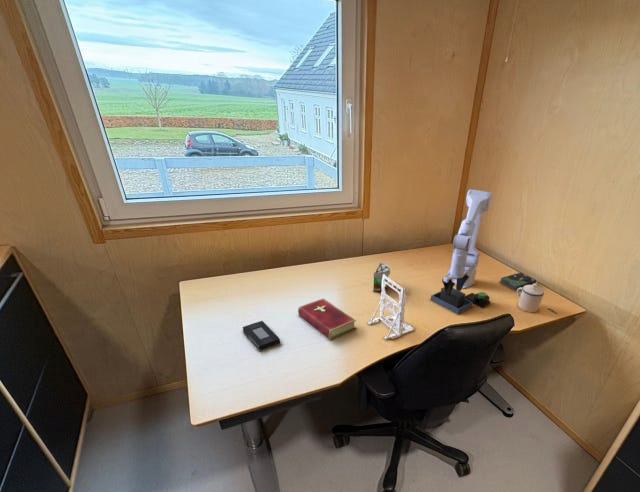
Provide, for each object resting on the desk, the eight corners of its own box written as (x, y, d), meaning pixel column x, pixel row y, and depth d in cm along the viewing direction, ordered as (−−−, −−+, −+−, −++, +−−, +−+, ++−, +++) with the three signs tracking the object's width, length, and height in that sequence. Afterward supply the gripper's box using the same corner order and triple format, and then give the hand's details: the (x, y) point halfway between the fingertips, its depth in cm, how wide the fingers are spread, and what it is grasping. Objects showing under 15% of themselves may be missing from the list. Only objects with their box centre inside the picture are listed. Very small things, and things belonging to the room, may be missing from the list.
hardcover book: (329, 340, 130) (329, 330, 128) (298, 315, 142) (297, 306, 140) (355, 328, 137) (355, 319, 135) (323, 306, 150) (323, 297, 147)
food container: (386, 295, 161) (387, 275, 156) (372, 293, 162) (373, 273, 157) (391, 283, 171) (392, 263, 166) (378, 281, 172) (379, 262, 167)
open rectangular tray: (444, 293, 166) (445, 289, 164) (472, 307, 157) (473, 302, 155) (430, 300, 160) (431, 295, 158) (457, 314, 151) (458, 309, 149)
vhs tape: (259, 351, 122) (259, 346, 121) (243, 331, 131) (242, 326, 130) (280, 343, 127) (279, 338, 126) (262, 325, 136) (262, 320, 134)
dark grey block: (445, 297, 162) (447, 285, 159) (463, 306, 157) (465, 294, 153) (439, 300, 160) (441, 288, 156) (456, 309, 154) (459, 297, 151)
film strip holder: (417, 331, 139) (423, 284, 128) (387, 341, 132) (391, 293, 121) (395, 313, 148) (399, 269, 137) (366, 322, 141) (368, 276, 131)
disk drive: (518, 277, 187) (499, 282, 179) (520, 272, 185) (501, 277, 178) (535, 285, 180) (516, 291, 172) (537, 280, 178) (517, 286, 171)
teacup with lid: (542, 309, 159) (551, 286, 152) (529, 314, 154) (537, 290, 148) (521, 298, 167) (527, 275, 161) (507, 302, 162) (514, 279, 156)
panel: (471, 295, 166) (473, 288, 164) (490, 304, 160) (492, 297, 158) (463, 299, 162) (464, 292, 160) (482, 308, 156) (484, 301, 154)
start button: (480, 294, 161) (481, 291, 160) (487, 297, 158) (488, 294, 157) (476, 296, 158) (476, 293, 157) (483, 300, 156) (483, 296, 155)
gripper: (461, 256, 155) (455, 284, 162) (439, 264, 146) (435, 293, 153) (474, 261, 150) (468, 290, 158) (453, 270, 142) (448, 300, 149)
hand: (453, 292), depth 155 cm, fingers open, 7 cm apart
